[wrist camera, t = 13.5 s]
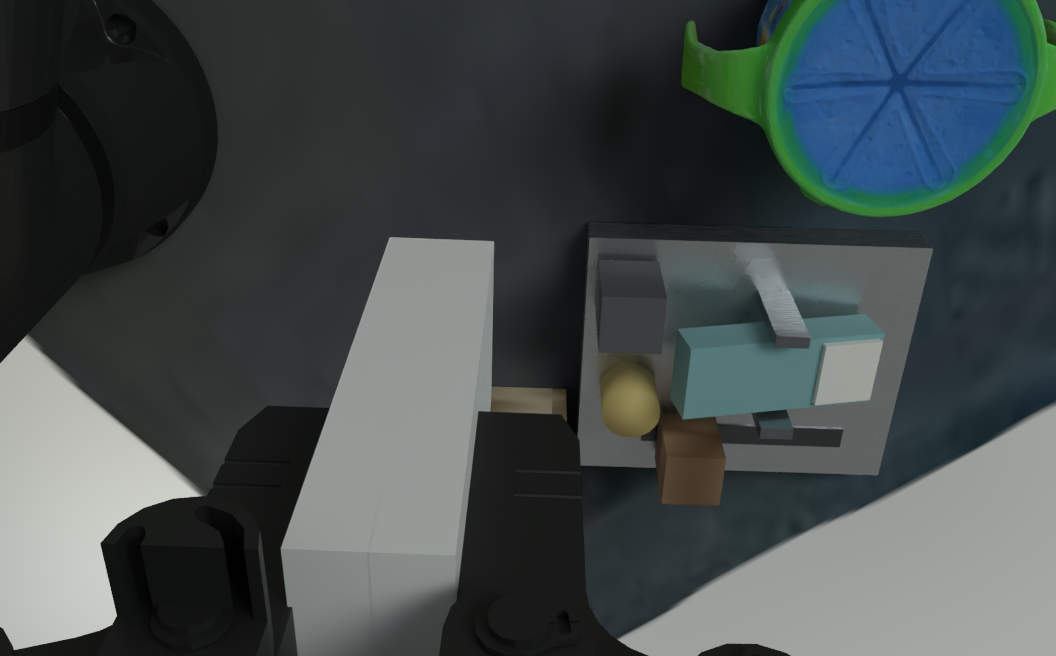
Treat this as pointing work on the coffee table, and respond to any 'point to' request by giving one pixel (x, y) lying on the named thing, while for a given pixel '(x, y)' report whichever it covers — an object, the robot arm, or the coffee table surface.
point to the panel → (782, 303)
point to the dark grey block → (630, 307)
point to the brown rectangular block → (689, 460)
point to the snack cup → (885, 94)
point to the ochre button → (629, 400)
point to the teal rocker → (774, 367)
